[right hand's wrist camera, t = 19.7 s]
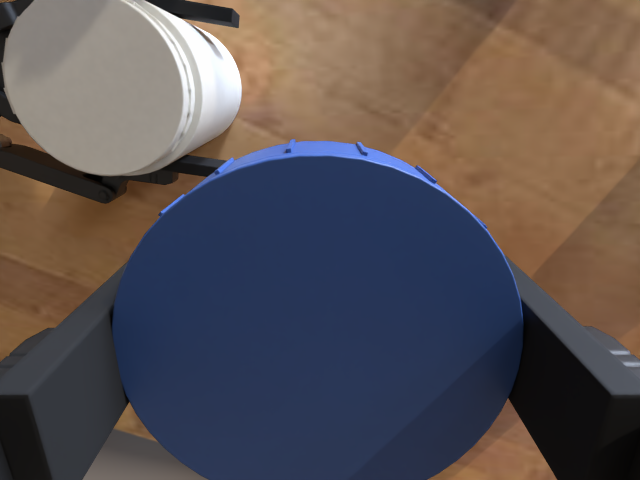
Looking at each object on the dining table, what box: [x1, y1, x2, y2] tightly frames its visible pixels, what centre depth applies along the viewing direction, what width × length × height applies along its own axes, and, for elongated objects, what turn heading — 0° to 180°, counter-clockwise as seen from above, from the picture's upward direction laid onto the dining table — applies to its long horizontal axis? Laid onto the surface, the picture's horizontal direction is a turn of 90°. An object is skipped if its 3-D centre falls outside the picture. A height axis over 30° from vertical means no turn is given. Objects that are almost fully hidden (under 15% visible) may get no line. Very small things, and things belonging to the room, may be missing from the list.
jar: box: [1, 0, 241, 176], centre depth 27 cm, size 9×9×15 cm
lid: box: [112, 139, 524, 480], centre depth 11 cm, size 10×10×2 cm
